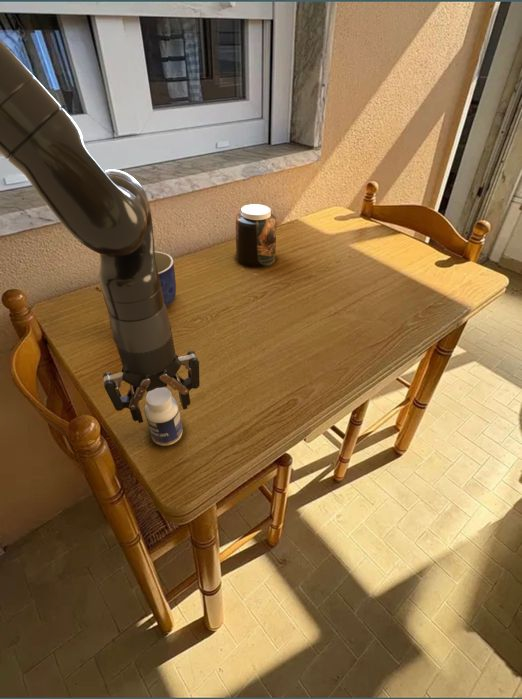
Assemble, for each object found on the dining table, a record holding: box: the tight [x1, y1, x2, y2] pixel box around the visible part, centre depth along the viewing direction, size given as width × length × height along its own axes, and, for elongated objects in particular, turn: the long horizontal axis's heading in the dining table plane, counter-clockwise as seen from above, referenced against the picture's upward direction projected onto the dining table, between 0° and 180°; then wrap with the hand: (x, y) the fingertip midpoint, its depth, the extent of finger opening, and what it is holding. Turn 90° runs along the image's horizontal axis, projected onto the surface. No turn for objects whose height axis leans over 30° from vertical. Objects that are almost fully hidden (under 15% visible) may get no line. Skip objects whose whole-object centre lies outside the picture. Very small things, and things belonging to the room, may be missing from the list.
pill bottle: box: [144, 387, 184, 446], centre depth 63 cm, size 5×5×10 cm
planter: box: [155, 251, 177, 308], centre depth 94 cm, size 12×12×11 cm
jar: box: [235, 203, 277, 269], centre depth 111 cm, size 12×12×15 cm
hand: (162, 412), depth 62 cm, fingers open, 6 cm apart
